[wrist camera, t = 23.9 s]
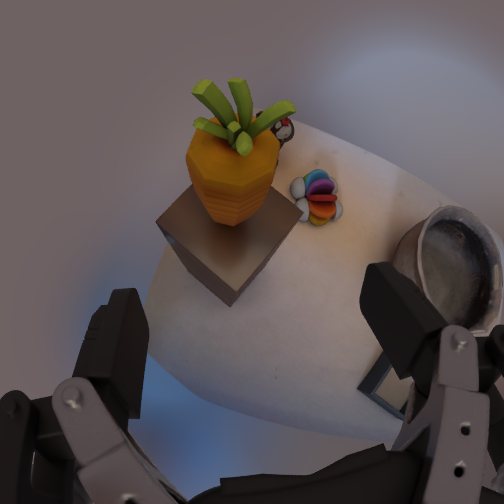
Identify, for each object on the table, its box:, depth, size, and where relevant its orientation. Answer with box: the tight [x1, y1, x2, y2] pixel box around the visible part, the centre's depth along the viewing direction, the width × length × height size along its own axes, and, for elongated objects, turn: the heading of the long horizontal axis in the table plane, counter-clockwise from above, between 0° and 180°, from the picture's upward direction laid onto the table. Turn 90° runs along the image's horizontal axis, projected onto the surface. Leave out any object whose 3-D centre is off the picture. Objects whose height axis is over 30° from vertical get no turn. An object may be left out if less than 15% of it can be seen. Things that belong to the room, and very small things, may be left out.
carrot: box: [186, 78, 296, 226], centre depth 17 cm, size 5×5×15 cm
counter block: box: [156, 184, 304, 307], centre depth 36 cm, size 9×9×24 cm
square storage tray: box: [358, 351, 408, 421], centre depth 43 cm, size 12×12×5 cm
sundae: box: [256, 111, 294, 166], centre depth 46 cm, size 7×7×15 cm
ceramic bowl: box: [392, 205, 503, 334], centre depth 43 cm, size 22×22×15 cm
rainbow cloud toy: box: [290, 169, 343, 226], centre depth 48 cm, size 8×10×7 cm
